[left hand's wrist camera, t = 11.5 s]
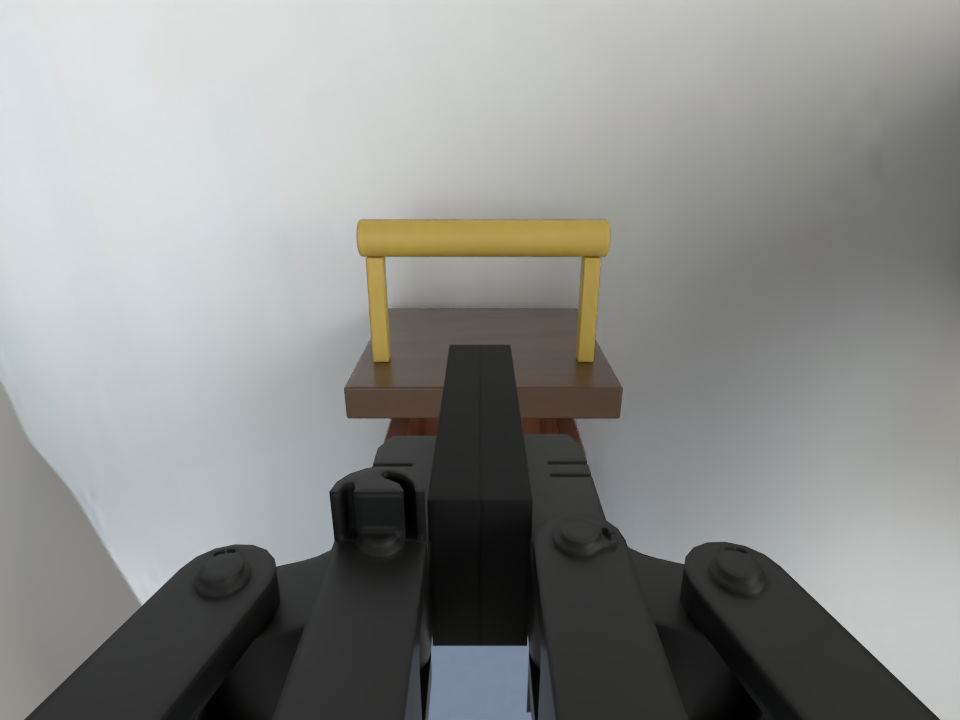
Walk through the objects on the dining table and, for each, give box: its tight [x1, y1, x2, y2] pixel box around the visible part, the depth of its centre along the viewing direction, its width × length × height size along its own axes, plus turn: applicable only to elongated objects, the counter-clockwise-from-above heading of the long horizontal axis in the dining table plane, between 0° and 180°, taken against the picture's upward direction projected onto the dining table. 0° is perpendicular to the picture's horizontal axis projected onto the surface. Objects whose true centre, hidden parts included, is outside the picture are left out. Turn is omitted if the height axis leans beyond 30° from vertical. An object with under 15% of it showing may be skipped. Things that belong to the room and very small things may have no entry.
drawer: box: [344, 219, 623, 457], centre depth 27 cm, size 22×10×10 cm, turn 0°
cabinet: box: [428, 638, 532, 720], centre depth 31 cm, size 18×11×12 cm, turn 0°
